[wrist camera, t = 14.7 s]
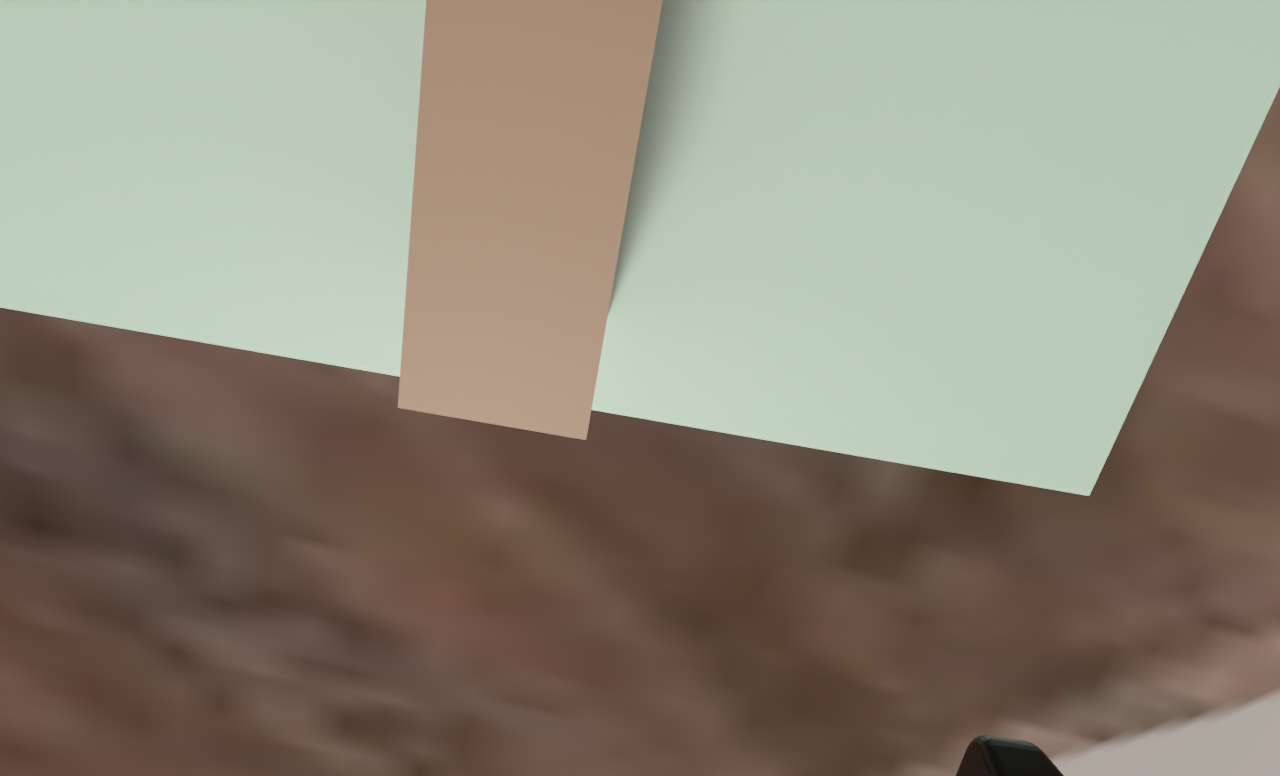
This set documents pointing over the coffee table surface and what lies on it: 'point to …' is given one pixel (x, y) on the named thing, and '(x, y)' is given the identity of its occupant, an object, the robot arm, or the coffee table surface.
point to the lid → (650, 203)
